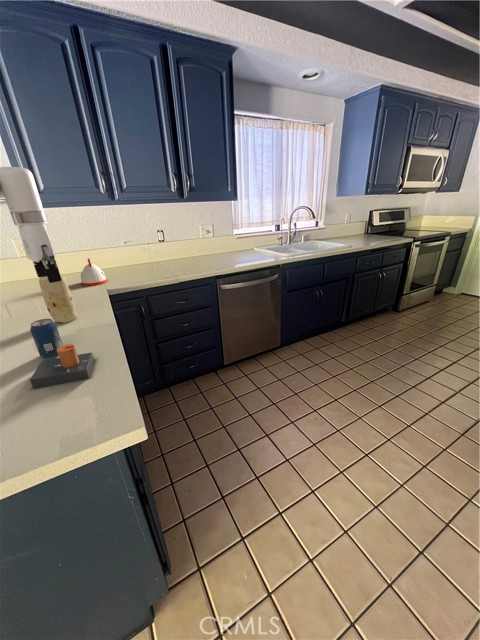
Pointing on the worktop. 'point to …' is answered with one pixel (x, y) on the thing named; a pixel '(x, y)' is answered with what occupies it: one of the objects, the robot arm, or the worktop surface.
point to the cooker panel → (61, 371)
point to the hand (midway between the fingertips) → (49, 279)
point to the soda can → (46, 337)
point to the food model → (58, 299)
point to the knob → (68, 355)
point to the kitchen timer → (92, 275)
